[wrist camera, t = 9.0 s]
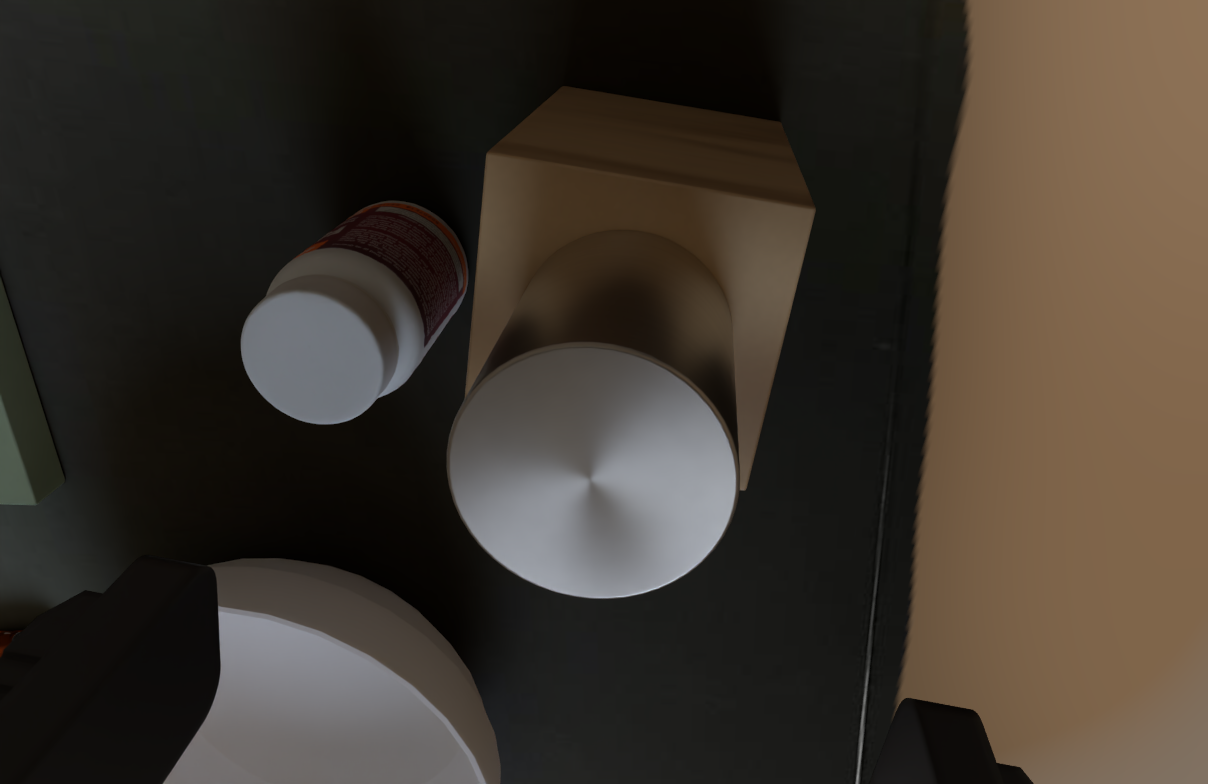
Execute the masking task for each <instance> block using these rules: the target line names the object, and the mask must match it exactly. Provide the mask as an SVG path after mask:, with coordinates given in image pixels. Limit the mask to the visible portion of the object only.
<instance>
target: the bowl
mask: <svg viewBox="0 0 1208 784" xmlns="http://www.w3.org/2000/svg"><path fill="white" fill-rule="evenodd" d="M207 566H209V567H211V568H212V569H213V570H214V572H215V575H216V579H217V594H218V616H219V639H220V661H221V670H220V679H219V684H218V688H217V692H216V695H215V699H214V701H213V704H212V707H211V709H210V711H209V713H208V715H207V717H206V719H205V721H204V722H203V724H202V726H201V727H200V729H199V730H198V732H197V733H196V735H195V736H194V738H193V739H192V741H191V742H190V744H189V745H188V747H187V748H186V750H185V751H184V753H183V754H182V756H181V757H180V759H179V760H178V762H177V763H176V765H175V766H174V768H173V769H172V771H171V772H170V774H169V775H168V777H167V778H166V780H165V781H164V783H163V784H500V771H501V766H500V760H499V755H498V749H497V743H496V737H495V733H494V731H493V728H492V726H491V724H490V721H489V719H488V717H487V714H486V712H485V709H484V707H483V701H482V699H481V697H480V694H479V692H478V690H477V687H476V685H475V683H474V680H473V678H472V676H471V673H470V671H469V670H468V668H467V667H466V666H465V664H464V663H463V661H462V660H461V658H460V657H459V655H458V654H457V653H456V651H455V650H454V648H453V647H452V645H451V644H450V643H449V642H448V641H447V640H446V639H445V638H444V637H443V635H442V634H441V633H440V632H439V631H438V630H437V629H436V628H435V627H434V626H433V625H432V624H431V623H430V622H429V621H428V620H427V619H426V618H425V617H424V616H423V615H422V614H421V613H420V612H419V611H418V610H417V609H415V608H414V607H413V606H411V605H410V604H408V603H407V602H406V601H404V600H403V599H401V598H400V597H399V596H397V595H396V594H394V593H393V592H392V591H390V590H388V589H386V588H384V587H382V586H380V585H378V584H376V583H374V582H372V581H370V580H368V579H366V578H364V577H362V576H360V575H357V574H354V573H351V572H347V571H344V570H341V569H338V568H335V567H332V566H328V565H322V564H316V563H310V562H303V561H297V560H289V559H280V558H267V559H238V560H233V561H227V562H222V563H217V564H212V565H207Z"/></svg>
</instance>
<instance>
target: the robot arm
mask: <svg viewBox="0 0 1208 784" xmlns="http://www.w3.org/2000/svg"><path fill="white" fill-rule="evenodd" d="M220 670H221V661H220V639H219V616H218V594H217V579H216V575H215V572H214V570H213V569H212V568H211V567H209V566H205V565H200V564H194V563H189V562H184V561H178V560H173V559H167V558H162V557H157V556H151V555H144V556H141V557H140V558H138V559H136V560H135V561H134V562H133V563H132V564H131V565H130V566H129V567H128V568H127V569H126V570H125V571H124V572H123V574H122V575H121V576H120V577H119V578H118V579H117V580H116V581H115V582H114V583H113V584H112V585H111V586H110V587H109V588H108V589H107V590H106V591H105V592H104V593H103V594H102V593H97V592H92V591H86V590H85V591H83V592H81V593H80V594H78V595H76V596H74V597H72V598H70V599H69V600H67V601H65V602H63V603H61V604H59V605H57V606H56V607H54V608H52V609H50V610H48V611H46V612H45V613H43V614H41V615H39V616H38V617H36V618H35V619H34V620H33V621H32V622H31V623H30V624H29V625H28V626H27V627H26V628H25V629H24V630H23V631H22V632H21V633H20V634H19V635H18V636H17V637H16V638H15V639H14V640H13V641H12V642H11V643H10V644H9V645H8V646H7V647H6V648H5V649H4V650H3V653H2V656H1V657H0V784H163V783H164V781H165V780H166V778H167V777H168V775H169V774H170V772H171V771H172V769H173V768H174V766H175V765H176V763H177V762H178V760H179V759H180V757H181V756H182V754H183V753H184V751H185V750H186V748H187V747H188V745H189V744H190V742H191V741H192V739H193V738H194V736H195V735H196V733H197V732H198V730H199V729H200V727H201V726H202V724H203V722H204V721H205V719H206V717H207V715H208V713H209V711H210V709H211V707H212V704H213V701H214V699H215V695H216V692H217V688H218V684H219V679H220ZM869 784H1033V782H1032V781H1031V780H1030V779H1029V777H1028V776H1027V775H1026V774H1025V773H1024V771H1023V770H1022V769H1021V768H1020V767H1016V766H1010V765H1005V764H999V763H996V760H995V757H994V754H993V752H992V749H991V746H990V743H989V740H988V737H987V735H986V732H985V729H984V726H983V724H982V721H981V719H980V717H979V715H978V714H977V713H976V712H975V711H974V710H971V709H966V708H960V707H955V706H950V705H944V704H939V703H933V702H928V701H922V700H917V699H912V698H906V699H904V700H903V701H902V702H901V703H900V705H899V707H898V709H897V711H896V714H895V716H894V719H893V722H892V724H891V727H890V730H889V732H888V735H887V738H886V740H885V743H884V745H883V748H882V751H881V753H880V756H879V759H878V761H877V764H876V767H875V769H874V772H873V775H872V777H871V780H870V783H869Z"/></svg>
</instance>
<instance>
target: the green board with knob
mask: <svg viewBox="0 0 1208 784" xmlns="http://www.w3.org/2000/svg"><path fill="white" fill-rule="evenodd" d="M64 482H65V478H64V475H63V471H62V468H61V465H60V462H59V459H58V456H57V453H56V449H55V446H54V443H53V440H52V437H51V434H50V431H49V427H48V424H47V421H46V418H45V415H44V412H43V408H42V405H41V402H40V399H39V396H38V393H37V390H36V386H35V383H34V380H33V377H32V374H31V371H30V368H29V364H28V361H27V358H26V355H25V352H24V349H23V346H22V342H21V339H20V336H19V333H18V330H17V327H16V324H15V320H14V317H13V314H12V311H11V308H10V305H9V301H8V298H7V295H6V292H5V289H4V286H3V283H2V279H1V276H0V504H11V505H37V504H38V503H40V502H41V501H42V500H43V499H45V498H46V497H47V496H48V495H49V494H51V493H52V492H53V491H54V490H56V489H57V488H58V487H59V486H61V485H62V484H63V483H64Z"/></svg>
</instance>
